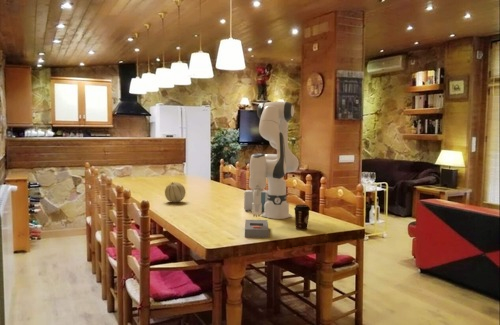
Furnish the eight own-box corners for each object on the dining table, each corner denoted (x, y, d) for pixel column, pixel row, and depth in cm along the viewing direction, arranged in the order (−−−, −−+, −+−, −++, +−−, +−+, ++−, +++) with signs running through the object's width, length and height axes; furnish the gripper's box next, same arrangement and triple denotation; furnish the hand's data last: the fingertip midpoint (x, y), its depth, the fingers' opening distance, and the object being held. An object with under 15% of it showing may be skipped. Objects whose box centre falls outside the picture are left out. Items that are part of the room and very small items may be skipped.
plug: (251, 215, 218) (252, 202, 217) (261, 216, 218) (261, 203, 217) (251, 217, 214) (252, 203, 214) (261, 217, 214) (261, 204, 214)
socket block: (245, 226, 228) (245, 218, 228) (266, 227, 228) (267, 219, 228) (244, 237, 206) (244, 228, 206) (268, 237, 206) (268, 228, 206)
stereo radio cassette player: (244, 211, 271) (244, 181, 269) (244, 208, 279) (245, 179, 278) (275, 212, 271) (276, 182, 269) (275, 209, 279) (275, 180, 277)
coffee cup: (308, 227, 230) (308, 204, 229) (310, 230, 222) (311, 207, 221) (292, 226, 230) (293, 204, 229) (294, 230, 222) (295, 206, 221)
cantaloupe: (188, 201, 303) (188, 181, 302) (180, 204, 289) (180, 183, 288) (170, 200, 307) (170, 180, 306) (161, 203, 293) (161, 182, 291)
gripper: (264, 187, 205) (263, 214, 206) (262, 182, 225) (262, 207, 226) (251, 187, 205) (250, 214, 206) (251, 182, 225) (250, 207, 226)
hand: (256, 210), depth 216 cm, fingers closed on plug, 3 cm apart
